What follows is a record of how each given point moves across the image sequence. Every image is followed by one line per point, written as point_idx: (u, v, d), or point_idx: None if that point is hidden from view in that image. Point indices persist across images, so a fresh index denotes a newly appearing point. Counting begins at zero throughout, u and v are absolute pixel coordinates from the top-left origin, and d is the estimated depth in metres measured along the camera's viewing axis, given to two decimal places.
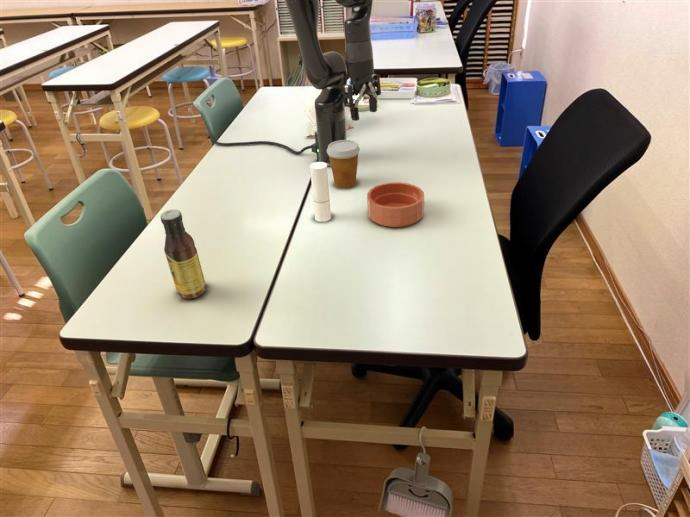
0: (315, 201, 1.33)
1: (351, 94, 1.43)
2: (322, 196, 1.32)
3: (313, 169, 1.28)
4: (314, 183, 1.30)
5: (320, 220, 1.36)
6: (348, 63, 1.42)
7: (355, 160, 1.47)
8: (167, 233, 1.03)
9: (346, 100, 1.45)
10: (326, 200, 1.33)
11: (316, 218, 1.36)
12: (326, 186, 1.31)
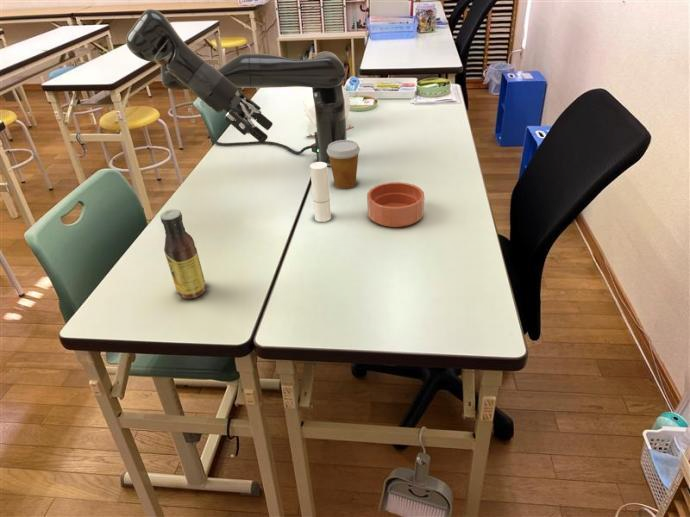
0: (315, 201, 1.33)
1: (239, 116, 1.16)
2: (322, 196, 1.32)
3: (313, 169, 1.28)
4: (314, 183, 1.30)
5: (320, 220, 1.36)
6: (208, 97, 1.17)
7: (355, 160, 1.47)
8: (167, 233, 1.03)
9: (240, 128, 1.18)
10: (326, 200, 1.33)
11: (316, 218, 1.36)
12: (326, 186, 1.31)
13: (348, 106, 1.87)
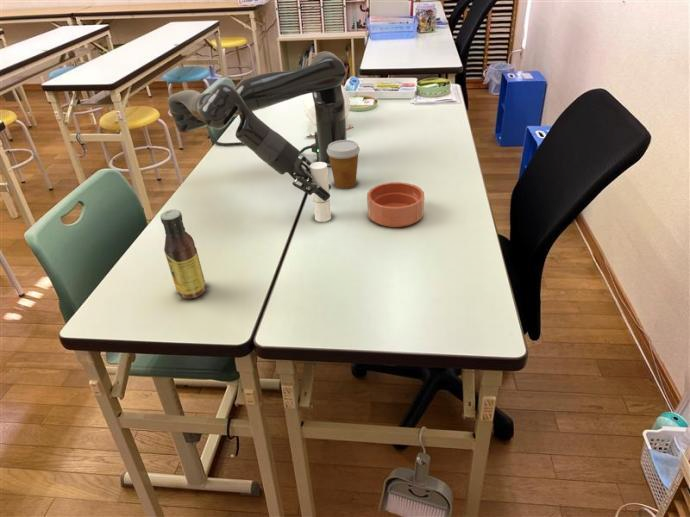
0: (315, 201, 1.33)
1: (306, 181, 1.26)
2: None
3: (313, 169, 1.28)
4: None
5: (320, 220, 1.36)
6: (273, 162, 1.25)
7: (355, 160, 1.47)
8: (167, 233, 1.03)
9: (306, 190, 1.28)
10: (326, 200, 1.33)
11: (316, 218, 1.36)
12: (326, 186, 1.31)
13: (348, 106, 1.87)
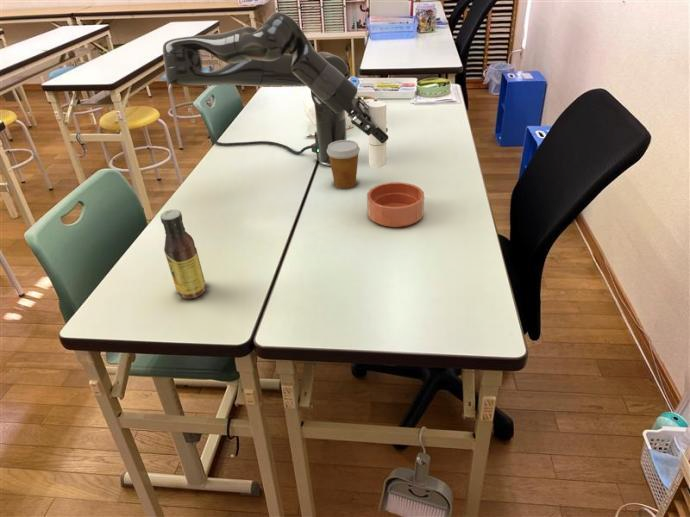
0: (371, 144, 1.25)
1: (365, 119, 1.17)
2: None
3: (372, 107, 1.19)
4: None
5: (375, 166, 1.27)
6: (330, 98, 1.17)
7: (355, 160, 1.47)
8: (167, 233, 1.03)
9: (365, 129, 1.19)
10: (383, 143, 1.24)
11: (371, 164, 1.28)
12: (384, 127, 1.22)
13: None
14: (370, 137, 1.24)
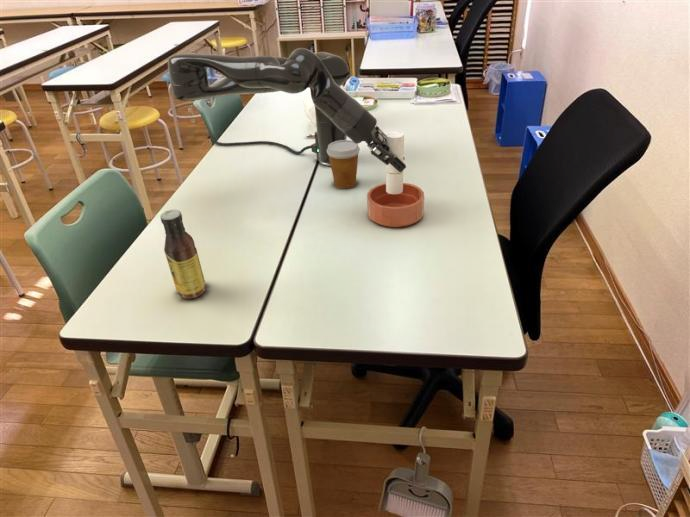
0: (389, 172, 1.29)
1: (384, 150, 1.21)
2: None
3: (390, 138, 1.24)
4: None
5: (392, 193, 1.31)
6: (351, 130, 1.21)
7: (355, 160, 1.47)
8: (167, 233, 1.03)
9: (383, 159, 1.23)
10: None
11: (388, 191, 1.32)
12: (402, 156, 1.27)
13: None
14: (388, 166, 1.28)
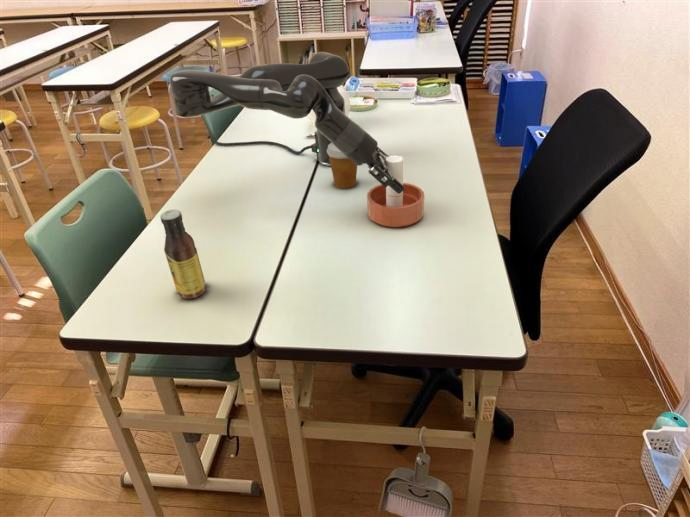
0: (389, 195, 1.32)
1: (382, 170, 1.23)
2: None
3: (390, 163, 1.27)
4: None
5: None
6: (352, 153, 1.24)
7: None
8: (167, 233, 1.03)
9: (382, 181, 1.25)
10: (400, 194, 1.32)
11: None
12: (401, 180, 1.30)
13: (348, 106, 1.87)
14: (388, 189, 1.32)
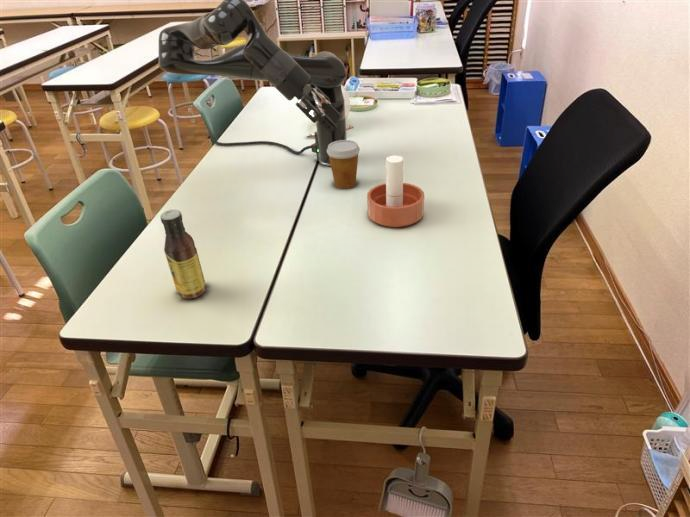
0: (389, 195, 1.32)
1: (310, 104, 1.16)
2: (396, 190, 1.31)
3: (390, 163, 1.27)
4: (390, 177, 1.29)
5: None
6: (281, 84, 1.17)
7: (355, 160, 1.47)
8: (167, 233, 1.03)
9: (310, 116, 1.17)
10: (400, 194, 1.32)
11: None
12: (401, 180, 1.30)
13: (348, 106, 1.87)
14: (388, 189, 1.32)
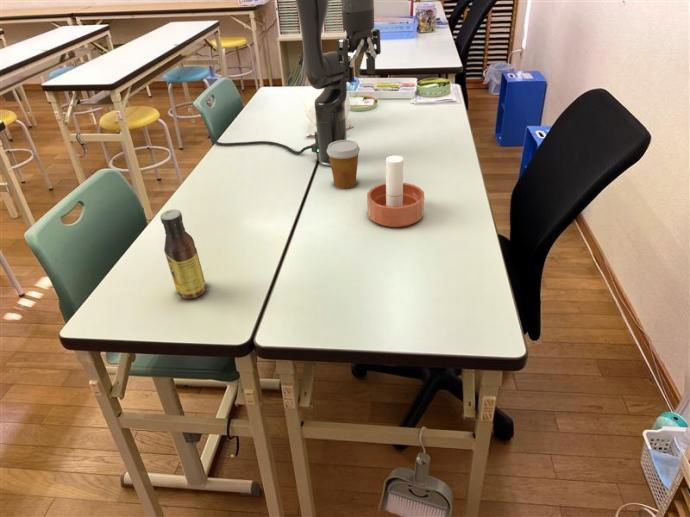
0: (389, 195, 1.32)
1: (346, 50, 1.22)
2: (396, 190, 1.31)
3: (390, 163, 1.27)
4: (390, 177, 1.29)
5: None
6: (344, 13, 1.21)
7: (355, 160, 1.47)
8: (167, 233, 1.03)
9: (340, 57, 1.24)
10: (400, 194, 1.32)
11: None
12: (401, 180, 1.30)
13: (348, 106, 1.87)
14: (388, 189, 1.32)
